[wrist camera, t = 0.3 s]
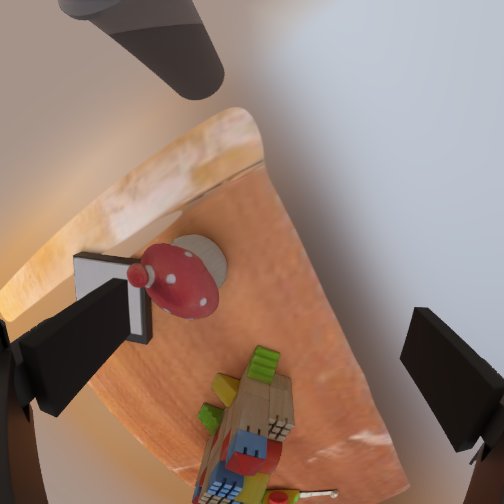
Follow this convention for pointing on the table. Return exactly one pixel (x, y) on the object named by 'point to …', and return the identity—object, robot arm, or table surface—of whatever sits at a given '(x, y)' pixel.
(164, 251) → the decorative ornament
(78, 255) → the kitchen scale
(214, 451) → the block set
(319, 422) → the table surface
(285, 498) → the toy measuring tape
